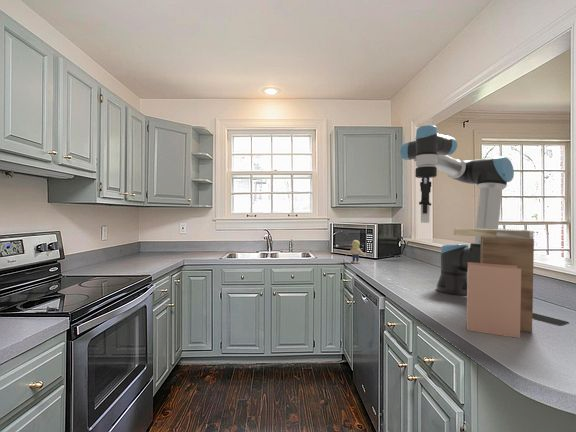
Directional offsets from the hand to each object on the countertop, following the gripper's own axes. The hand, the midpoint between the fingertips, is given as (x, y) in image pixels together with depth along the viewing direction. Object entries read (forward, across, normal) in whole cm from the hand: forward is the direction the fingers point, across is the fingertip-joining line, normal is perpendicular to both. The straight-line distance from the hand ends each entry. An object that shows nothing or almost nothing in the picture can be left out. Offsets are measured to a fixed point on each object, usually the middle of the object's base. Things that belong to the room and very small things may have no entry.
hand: (425, 222), depth 123 cm
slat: (+4, +2, +20) cm, 21 cm away
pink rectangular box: (+34, +12, +21) cm, 42 cm away
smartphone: (+35, -11, +39) cm, 54 cm away
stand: (+34, +3, +26) cm, 43 cm away
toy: (+35, -108, -51) cm, 124 cm away
